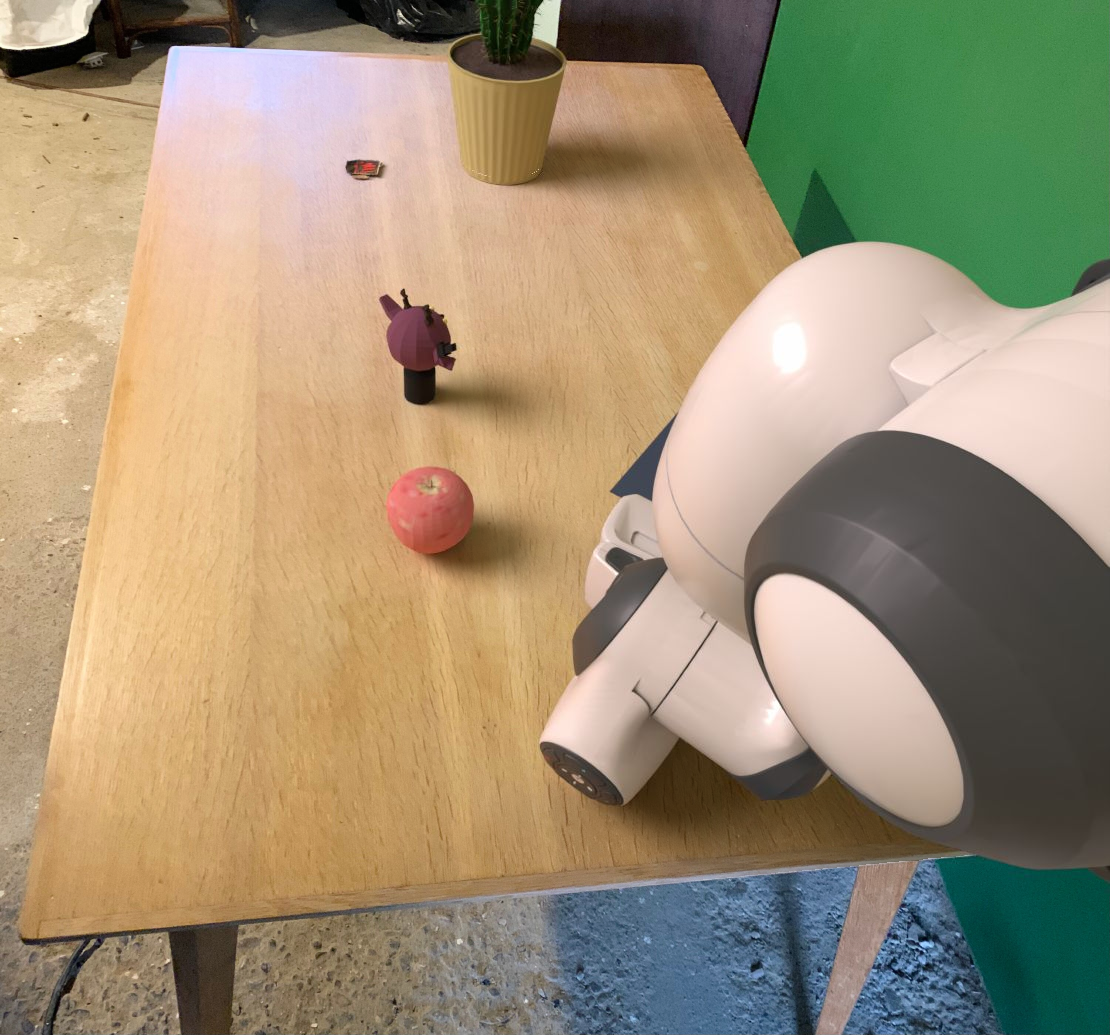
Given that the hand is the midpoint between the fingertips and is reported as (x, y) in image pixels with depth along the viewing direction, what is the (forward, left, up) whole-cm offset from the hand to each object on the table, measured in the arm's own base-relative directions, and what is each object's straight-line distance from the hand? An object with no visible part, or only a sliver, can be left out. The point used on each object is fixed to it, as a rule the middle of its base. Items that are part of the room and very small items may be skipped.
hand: (750, 520), depth 83 cm
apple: (+24, +15, -5) cm, 28 cm away
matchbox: (+71, -32, -5) cm, 78 cm away
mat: (+4, -9, -5) cm, 11 cm away
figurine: (+37, 0, -5) cm, 37 cm away
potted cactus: (+58, -46, -5) cm, 74 cm away
